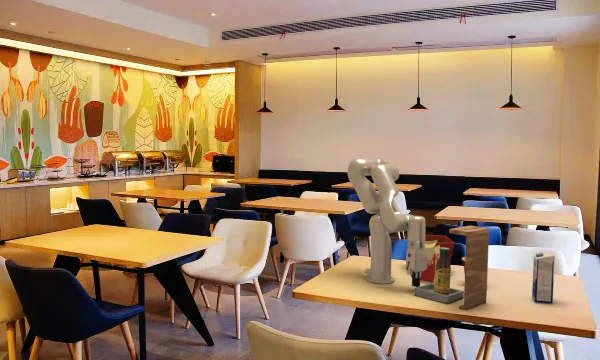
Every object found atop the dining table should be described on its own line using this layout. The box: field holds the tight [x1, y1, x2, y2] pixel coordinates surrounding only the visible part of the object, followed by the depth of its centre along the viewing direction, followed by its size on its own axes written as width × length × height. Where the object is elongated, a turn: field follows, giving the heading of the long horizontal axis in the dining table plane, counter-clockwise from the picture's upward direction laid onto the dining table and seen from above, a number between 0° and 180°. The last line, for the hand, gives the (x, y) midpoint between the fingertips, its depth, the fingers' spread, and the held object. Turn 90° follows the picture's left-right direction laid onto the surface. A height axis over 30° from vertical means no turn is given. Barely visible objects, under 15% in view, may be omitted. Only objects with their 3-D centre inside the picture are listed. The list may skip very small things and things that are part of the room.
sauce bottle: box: [434, 247, 452, 295], centre depth 216 cm, size 7×6×20 cm
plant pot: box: [425, 234, 455, 262], centre depth 262 cm, size 19×19×17 cm
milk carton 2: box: [531, 251, 556, 305], centre depth 213 cm, size 7×7×20 cm
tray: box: [413, 283, 464, 305], centre depth 217 cm, size 16×12×3 cm
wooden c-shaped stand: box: [448, 225, 490, 311], centre depth 207 cm, size 9×15×30 cm, turn 132°
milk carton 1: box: [420, 240, 440, 284], centre depth 242 cm, size 9×9×20 cm
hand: (415, 286), depth 226 cm, fingers closed
